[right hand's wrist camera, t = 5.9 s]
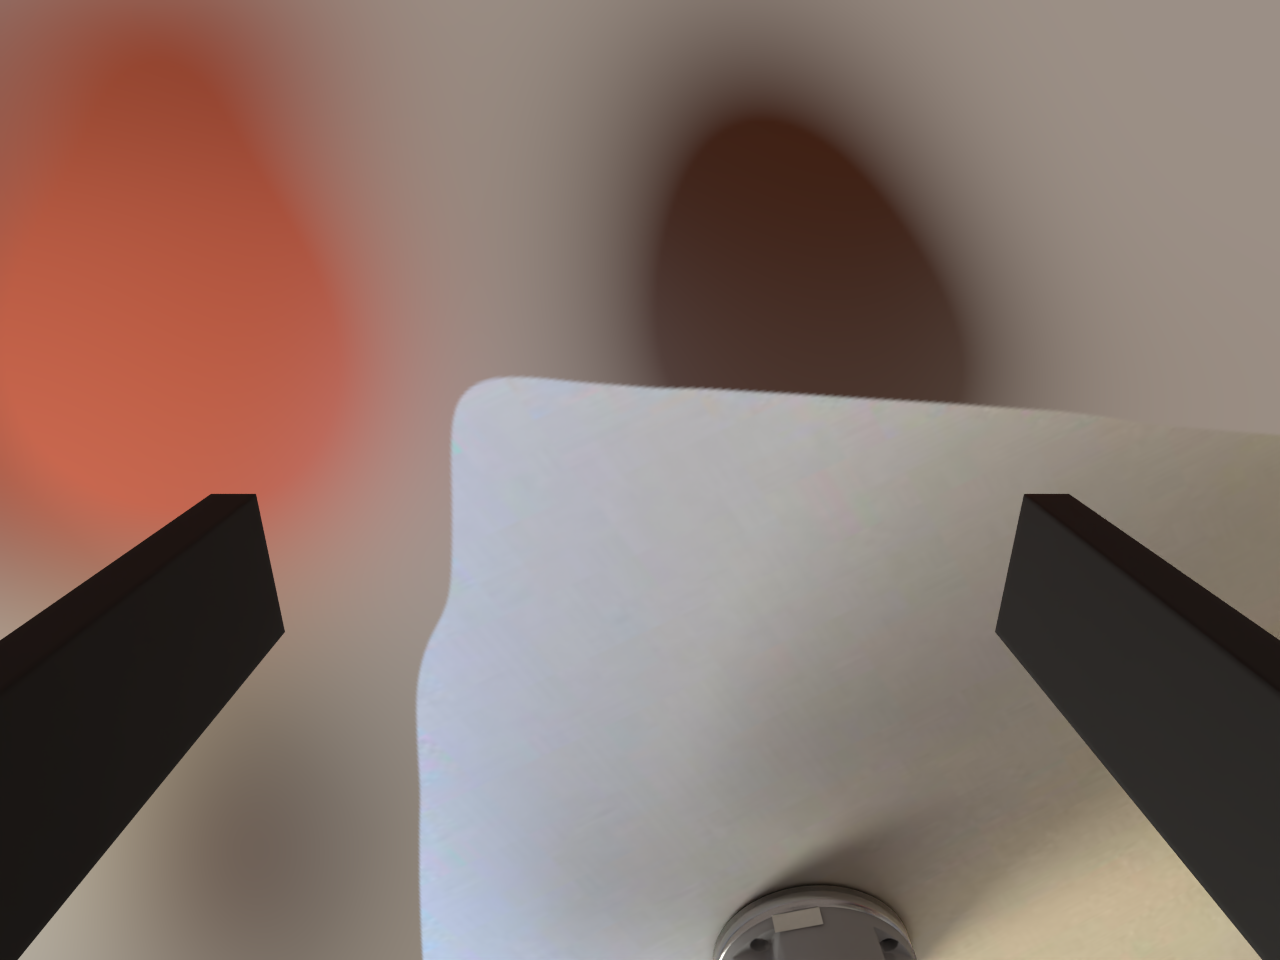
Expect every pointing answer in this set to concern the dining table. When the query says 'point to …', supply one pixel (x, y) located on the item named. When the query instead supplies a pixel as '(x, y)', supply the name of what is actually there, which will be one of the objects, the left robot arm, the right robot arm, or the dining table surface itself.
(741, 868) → the dining table surface
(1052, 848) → the dining table surface
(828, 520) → the dining table surface
